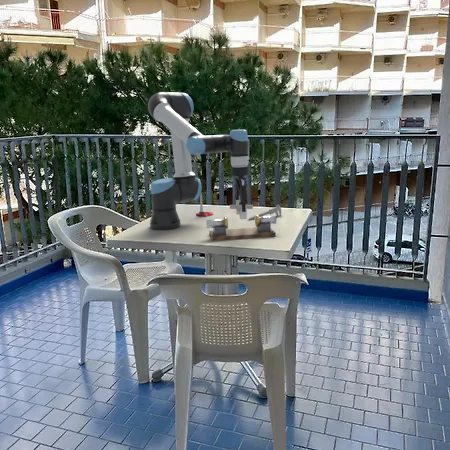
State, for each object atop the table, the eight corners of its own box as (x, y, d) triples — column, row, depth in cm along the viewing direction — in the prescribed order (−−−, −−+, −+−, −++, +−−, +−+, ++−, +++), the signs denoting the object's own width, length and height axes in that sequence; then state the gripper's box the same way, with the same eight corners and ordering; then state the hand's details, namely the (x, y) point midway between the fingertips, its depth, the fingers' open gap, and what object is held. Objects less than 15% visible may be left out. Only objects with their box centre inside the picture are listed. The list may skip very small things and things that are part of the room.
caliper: (280, 215, 228) (280, 203, 226) (281, 215, 227) (281, 204, 225) (247, 220, 219) (246, 208, 218) (248, 220, 218) (248, 208, 217)
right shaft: (257, 232, 187) (257, 216, 186) (254, 229, 193) (254, 213, 192) (277, 230, 189) (277, 215, 187) (273, 227, 194) (273, 212, 193)
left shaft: (208, 235, 185) (207, 220, 183) (206, 232, 191) (205, 217, 189) (228, 234, 186) (227, 218, 184) (226, 231, 192) (225, 215, 190)
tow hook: (203, 213, 242) (194, 215, 234) (202, 190, 239) (193, 192, 231) (215, 214, 238) (207, 217, 230) (215, 191, 235) (206, 193, 227)
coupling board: (212, 240, 182) (212, 237, 182) (209, 233, 194) (209, 230, 194) (275, 236, 186) (275, 232, 186) (269, 229, 197) (269, 226, 197)
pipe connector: (251, 220, 182) (250, 197, 180) (228, 220, 184) (227, 197, 182) (254, 215, 192) (253, 193, 189) (232, 215, 194) (231, 194, 192)
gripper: (253, 168, 172) (255, 221, 177) (243, 163, 194) (245, 211, 199) (235, 169, 171) (237, 222, 176) (227, 164, 193) (229, 212, 198)
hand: (241, 216), depth 188 cm, fingers closed on pipe connector, 10 cm apart
